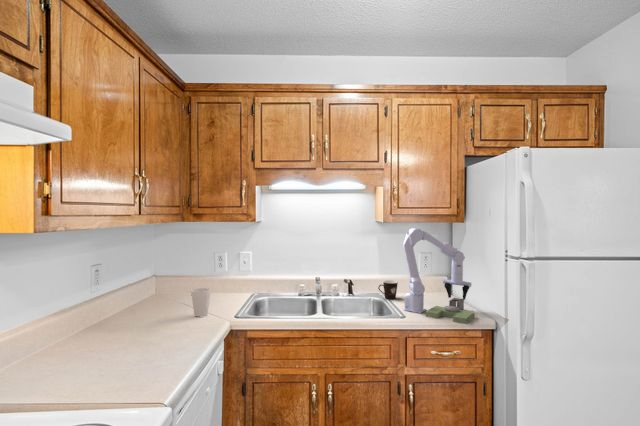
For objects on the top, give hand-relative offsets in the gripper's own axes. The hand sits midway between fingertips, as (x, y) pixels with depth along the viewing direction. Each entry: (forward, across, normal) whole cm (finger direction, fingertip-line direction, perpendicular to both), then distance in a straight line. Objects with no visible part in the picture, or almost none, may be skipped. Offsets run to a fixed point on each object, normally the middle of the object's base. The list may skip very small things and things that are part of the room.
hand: (456, 298), depth 209 cm
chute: (+7, 0, 0) cm, 7 cm away
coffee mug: (+7, +42, -2) cm, 43 cm away
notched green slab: (+7, -1, +13) cm, 15 cm away
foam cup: (+6, +99, +90) cm, 134 cm away
